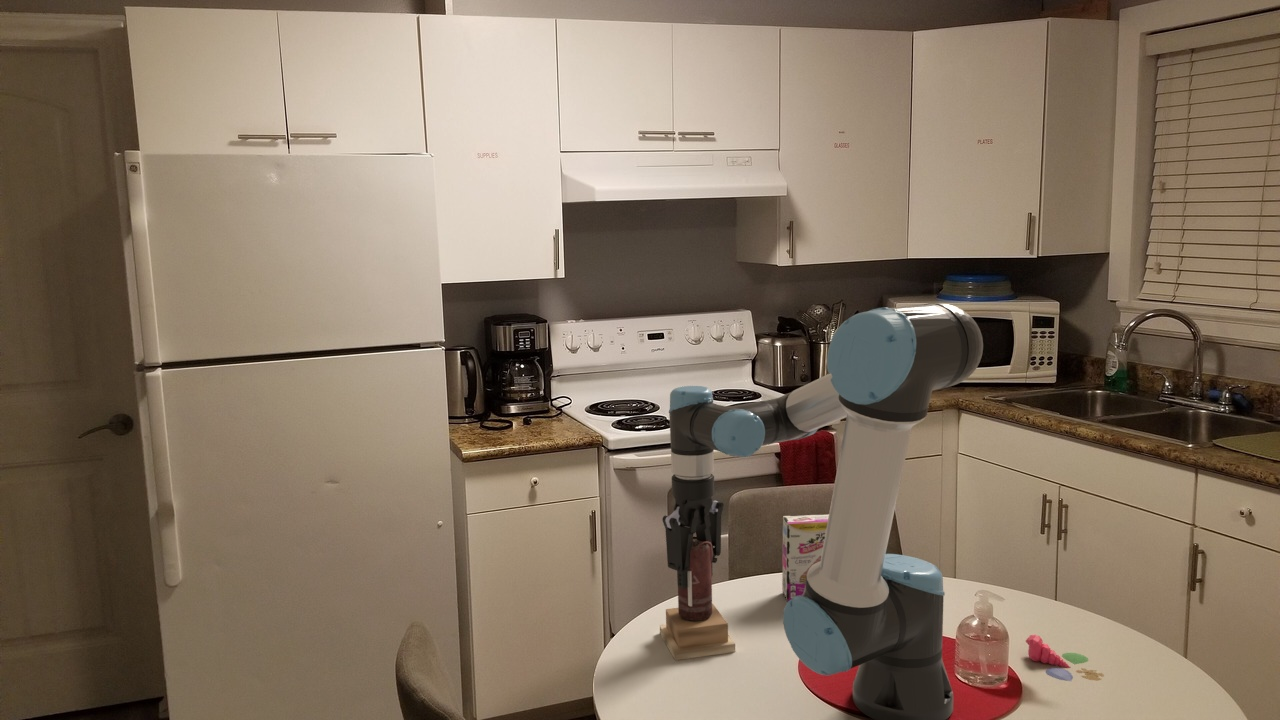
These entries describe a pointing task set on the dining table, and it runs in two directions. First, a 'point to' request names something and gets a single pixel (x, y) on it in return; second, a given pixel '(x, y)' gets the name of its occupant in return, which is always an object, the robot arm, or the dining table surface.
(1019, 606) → the dining table surface
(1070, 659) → the toy pieces
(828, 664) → the robot arm
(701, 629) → the stand
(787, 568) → the candy bar box
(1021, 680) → the dining table surface
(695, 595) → the can
